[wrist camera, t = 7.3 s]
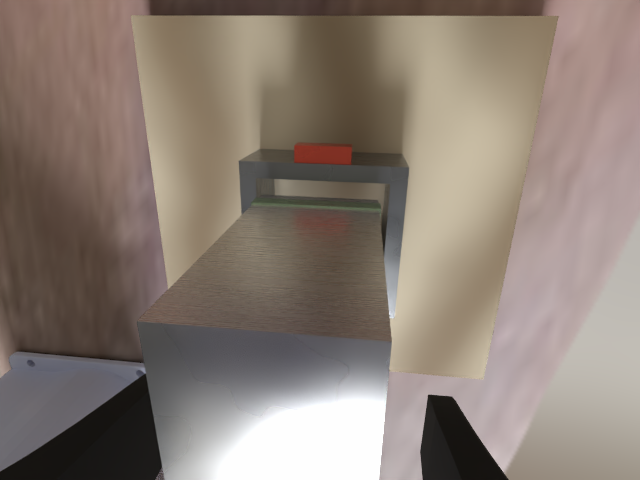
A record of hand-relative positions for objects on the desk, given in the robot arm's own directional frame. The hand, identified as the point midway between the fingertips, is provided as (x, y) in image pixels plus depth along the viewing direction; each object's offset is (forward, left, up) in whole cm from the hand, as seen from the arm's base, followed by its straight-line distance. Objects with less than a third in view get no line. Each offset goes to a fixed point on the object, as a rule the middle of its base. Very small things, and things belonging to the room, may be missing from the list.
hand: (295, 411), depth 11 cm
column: (0, +3, -5) cm, 5 cm away
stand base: (0, +3, -10) cm, 10 cm away
